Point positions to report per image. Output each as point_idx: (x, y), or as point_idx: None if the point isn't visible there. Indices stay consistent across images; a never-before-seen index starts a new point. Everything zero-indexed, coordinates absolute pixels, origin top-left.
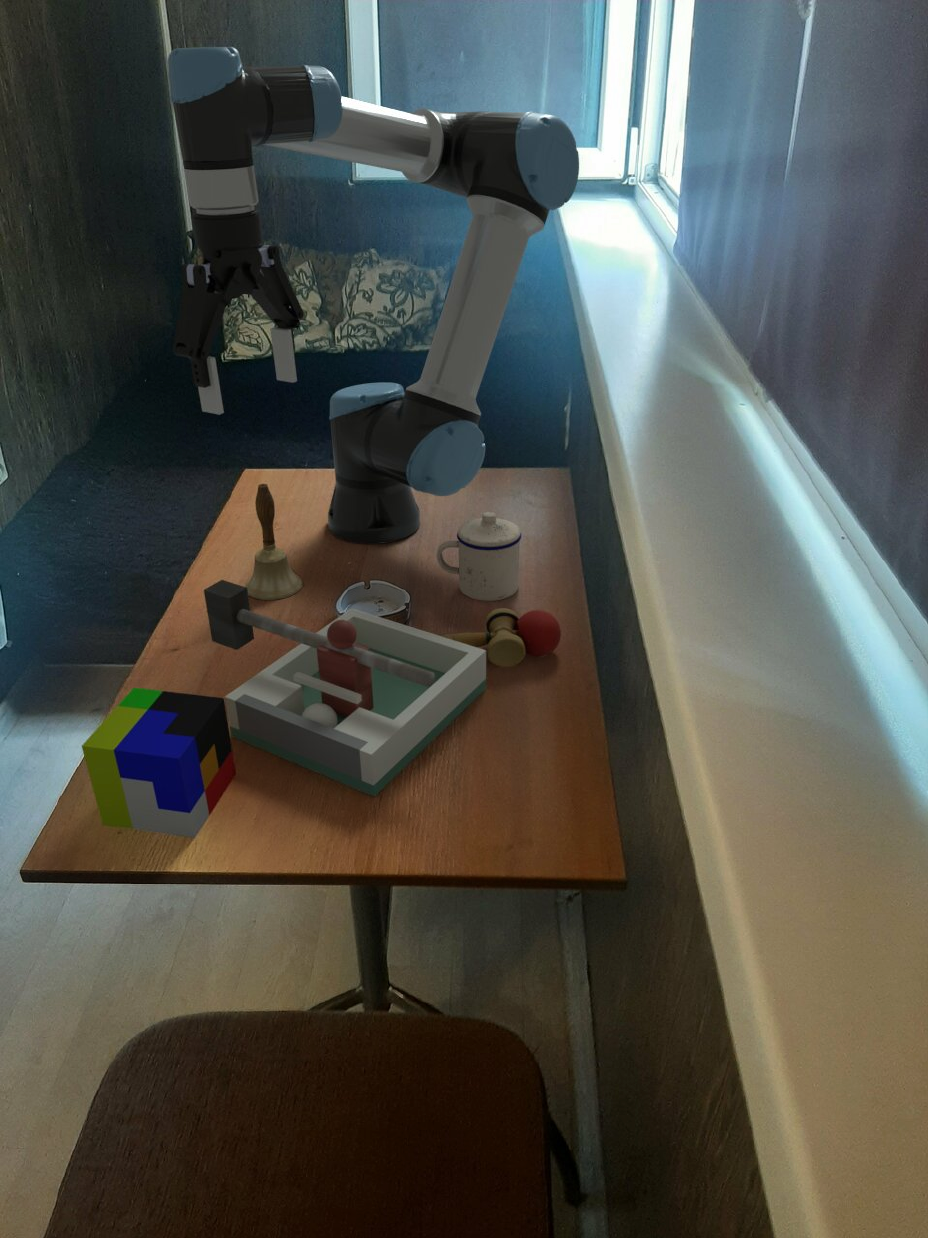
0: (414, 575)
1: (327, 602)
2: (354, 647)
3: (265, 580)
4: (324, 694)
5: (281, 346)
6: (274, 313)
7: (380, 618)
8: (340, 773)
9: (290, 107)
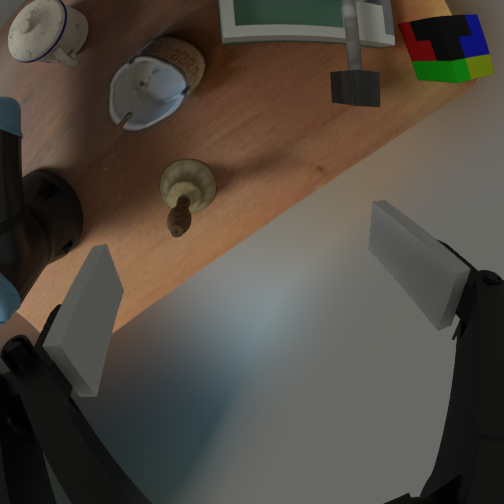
0: (83, 101)
1: (176, 121)
2: None
3: (203, 182)
4: None
5: (91, 328)
6: (81, 423)
7: (222, 4)
8: None
9: None
